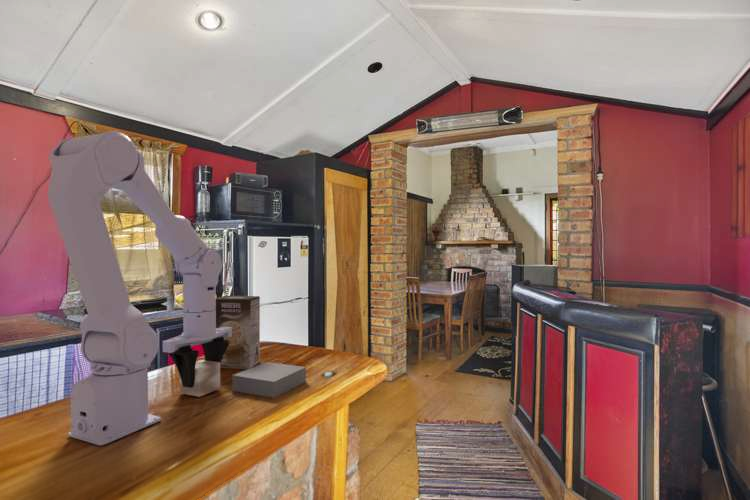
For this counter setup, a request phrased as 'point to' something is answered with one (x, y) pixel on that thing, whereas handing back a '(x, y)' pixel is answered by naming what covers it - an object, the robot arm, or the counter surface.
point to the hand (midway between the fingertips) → (200, 382)
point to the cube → (204, 379)
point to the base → (269, 379)
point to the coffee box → (240, 330)
